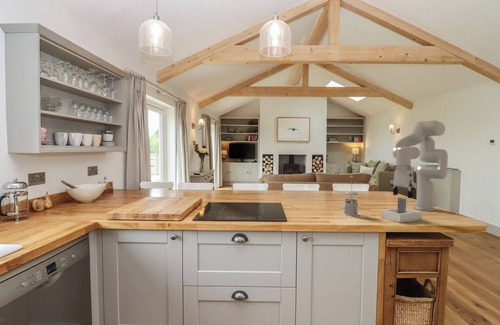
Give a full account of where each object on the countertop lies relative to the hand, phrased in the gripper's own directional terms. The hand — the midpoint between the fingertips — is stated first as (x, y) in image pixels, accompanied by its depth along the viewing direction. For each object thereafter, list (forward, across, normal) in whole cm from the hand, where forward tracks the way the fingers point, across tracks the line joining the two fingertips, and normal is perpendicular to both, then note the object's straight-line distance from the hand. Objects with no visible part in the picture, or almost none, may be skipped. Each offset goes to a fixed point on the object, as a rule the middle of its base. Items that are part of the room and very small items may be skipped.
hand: (402, 196), depth 157 cm
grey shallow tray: (+14, 0, +1) cm, 14 cm away
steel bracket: (+13, 0, +1) cm, 13 cm away
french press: (+13, +19, +22) cm, 32 cm away
